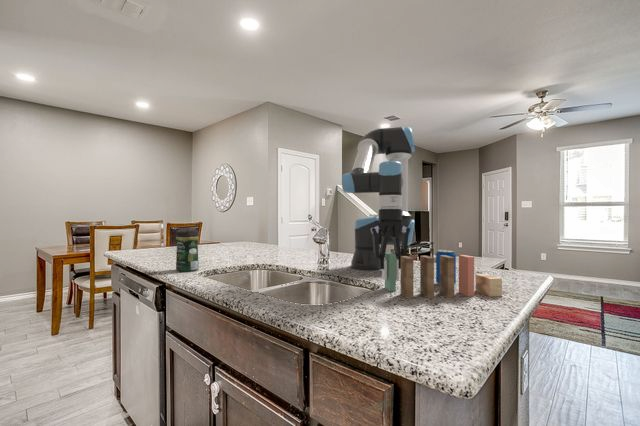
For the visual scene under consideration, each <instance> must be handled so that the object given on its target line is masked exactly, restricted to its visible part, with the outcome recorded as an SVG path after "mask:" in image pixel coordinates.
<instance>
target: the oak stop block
mask: <svg viewBox="0 0 640 426" xmlns="http://www.w3.org/2000/svg"><path fill="white" fill-rule="evenodd" d="M475 291H476V292H478V293H480V294H482V295H486V296H488V297H503V279H502V277H499V276H495V275H491V274H490V273H489V274H488V273H475Z"/></svg>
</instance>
